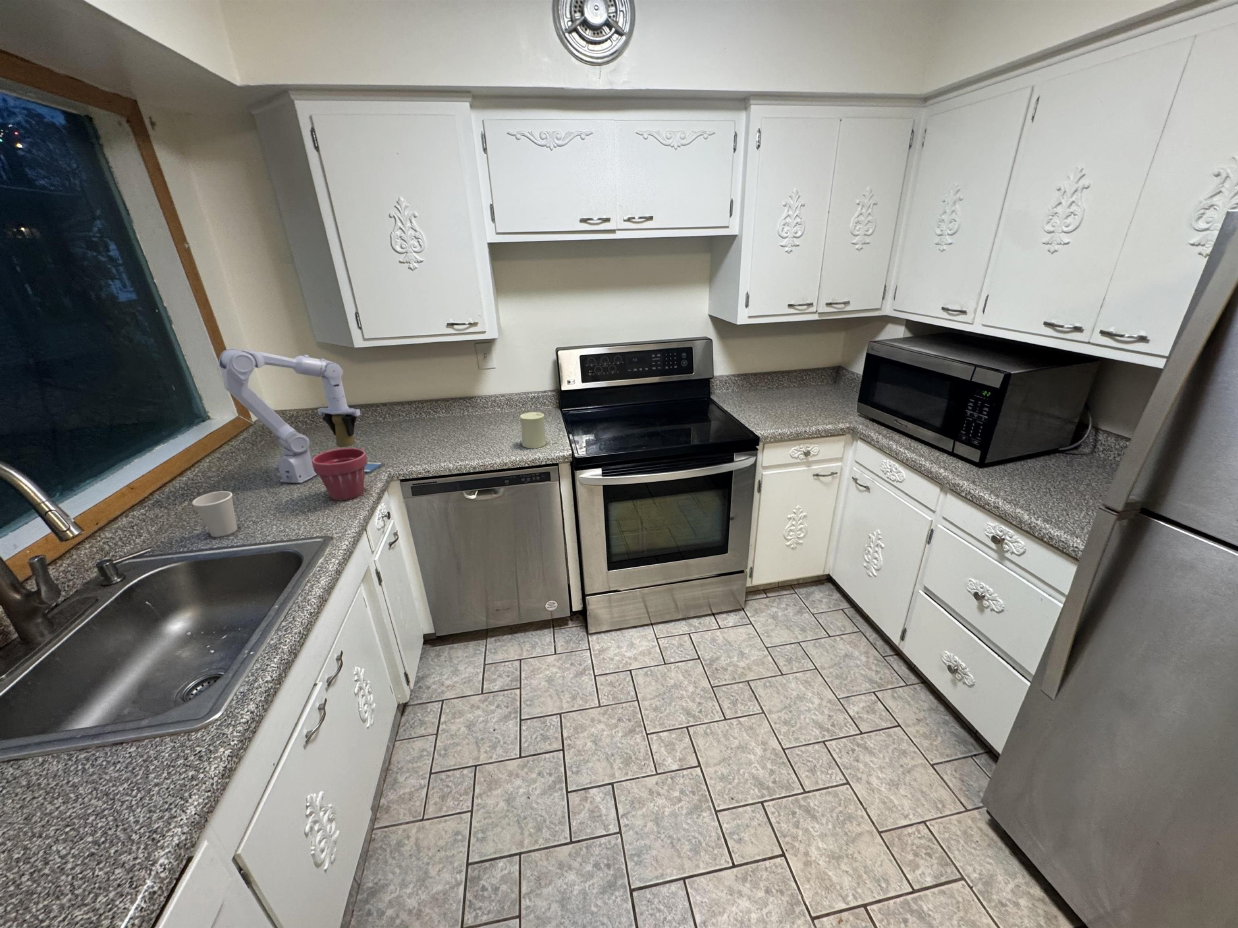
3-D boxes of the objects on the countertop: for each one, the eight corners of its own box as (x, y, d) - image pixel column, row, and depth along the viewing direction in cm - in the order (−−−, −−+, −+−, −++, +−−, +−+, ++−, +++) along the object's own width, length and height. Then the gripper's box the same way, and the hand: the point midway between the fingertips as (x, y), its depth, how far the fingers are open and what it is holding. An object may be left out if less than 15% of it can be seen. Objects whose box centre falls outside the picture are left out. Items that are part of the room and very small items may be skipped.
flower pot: (376, 482, 163) (369, 445, 158) (368, 500, 150) (360, 461, 146) (328, 487, 160) (318, 449, 155) (315, 506, 147) (305, 466, 142)
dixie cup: (237, 520, 140) (226, 488, 136) (247, 530, 135) (236, 496, 131) (200, 532, 134) (188, 498, 130) (209, 542, 129) (196, 508, 125)
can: (548, 446, 193) (546, 416, 188) (524, 449, 190) (522, 419, 185) (543, 438, 201) (541, 409, 196) (520, 441, 198) (517, 412, 193)
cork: (348, 447, 173) (341, 416, 169) (332, 446, 174) (325, 416, 170) (359, 441, 179) (353, 411, 175) (344, 440, 180) (337, 411, 176)
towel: (369, 473, 170) (368, 471, 170) (345, 471, 171) (344, 470, 171) (382, 464, 177) (382, 462, 177) (359, 463, 179) (359, 461, 178)
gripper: (362, 394, 173) (370, 432, 178) (324, 393, 175) (333, 430, 180) (349, 399, 166) (357, 438, 171) (309, 398, 168) (319, 436, 173)
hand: (344, 434), depth 175 cm, fingers closed on cork, 5 cm apart
